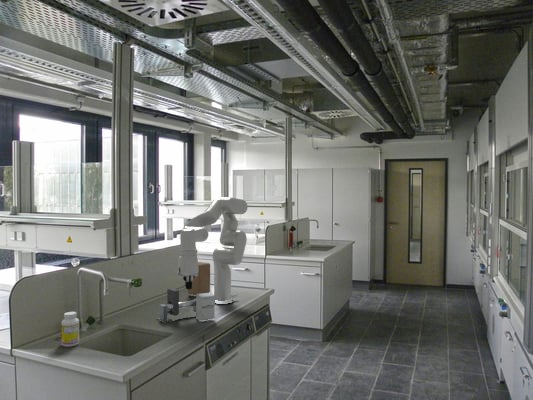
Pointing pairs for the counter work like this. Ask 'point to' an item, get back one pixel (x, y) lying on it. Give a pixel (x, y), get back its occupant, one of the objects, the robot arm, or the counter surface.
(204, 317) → the supplement box
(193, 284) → the block
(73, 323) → the supplement bottle
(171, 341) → the counter surface
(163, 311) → the pipe rig
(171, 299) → the grey upright panel
